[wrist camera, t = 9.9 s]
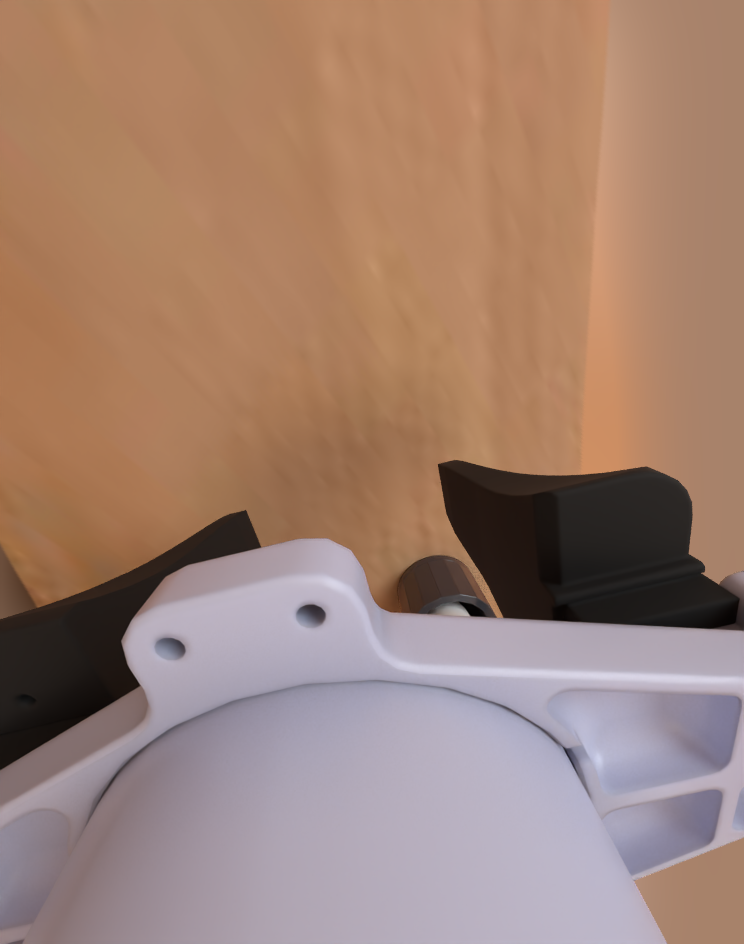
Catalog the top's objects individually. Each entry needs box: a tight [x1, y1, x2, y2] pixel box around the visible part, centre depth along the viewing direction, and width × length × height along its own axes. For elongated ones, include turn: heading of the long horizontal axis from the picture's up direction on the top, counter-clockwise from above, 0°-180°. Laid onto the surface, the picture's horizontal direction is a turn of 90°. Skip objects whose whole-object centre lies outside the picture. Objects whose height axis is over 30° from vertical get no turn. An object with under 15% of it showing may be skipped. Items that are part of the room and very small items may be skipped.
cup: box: [398, 556, 497, 618], centre depth 25 cm, size 6×6×4 cm
